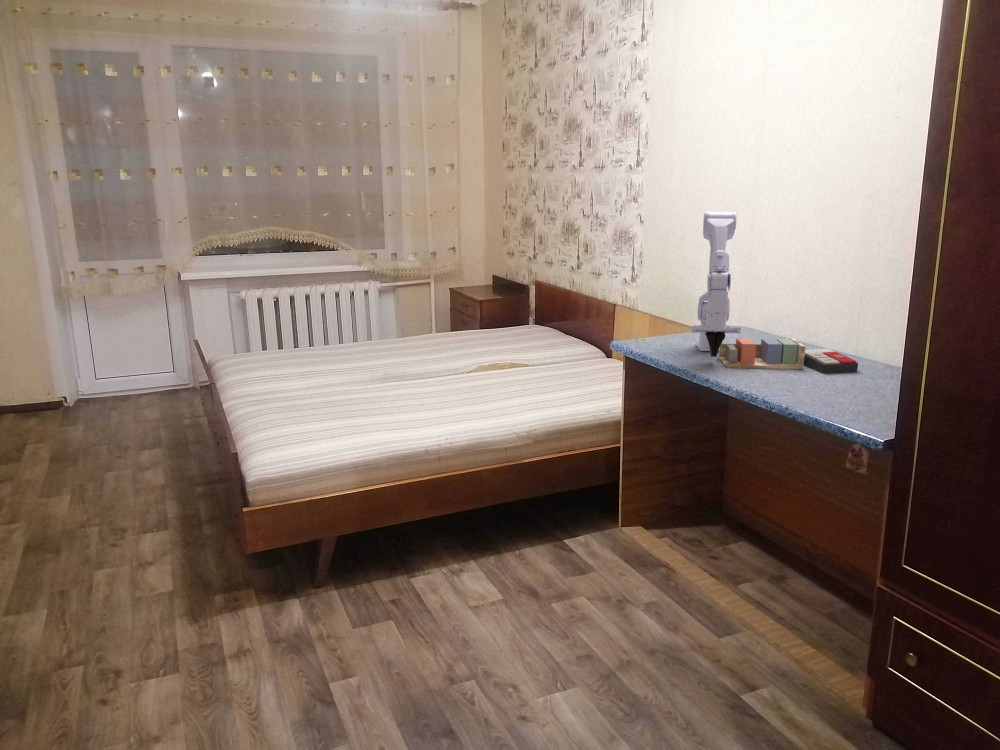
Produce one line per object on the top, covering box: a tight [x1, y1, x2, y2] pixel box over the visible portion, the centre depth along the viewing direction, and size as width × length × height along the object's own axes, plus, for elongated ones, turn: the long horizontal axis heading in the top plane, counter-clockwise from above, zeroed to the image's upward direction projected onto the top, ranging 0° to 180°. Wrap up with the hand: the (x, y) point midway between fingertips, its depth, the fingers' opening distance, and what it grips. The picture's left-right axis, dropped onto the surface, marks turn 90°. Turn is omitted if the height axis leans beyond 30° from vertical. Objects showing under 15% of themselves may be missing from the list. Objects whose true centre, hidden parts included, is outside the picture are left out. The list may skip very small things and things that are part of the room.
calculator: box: [804, 348, 859, 374], centre depth 224 cm, size 11×4×15 cm
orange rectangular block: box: [735, 337, 757, 364], centre depth 228 cm, size 8×4×6 cm, turn 176°
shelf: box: [718, 337, 806, 370], centre depth 227 cm, size 12×22×7 cm, turn 86°
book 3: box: [775, 338, 798, 364], centre depth 227 cm, size 8×4×6 cm, turn 176°
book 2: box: [760, 338, 782, 364], centre depth 227 cm, size 8×4×6 cm, turn 176°
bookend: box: [725, 345, 738, 363], centre depth 229 cm, size 7×2×4 cm, turn 176°
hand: (713, 356), depth 229 cm, fingers closed
